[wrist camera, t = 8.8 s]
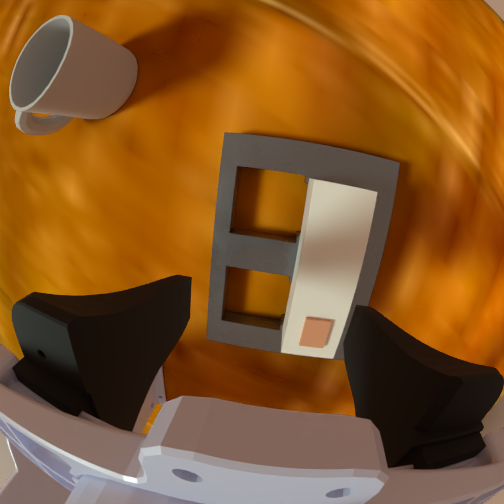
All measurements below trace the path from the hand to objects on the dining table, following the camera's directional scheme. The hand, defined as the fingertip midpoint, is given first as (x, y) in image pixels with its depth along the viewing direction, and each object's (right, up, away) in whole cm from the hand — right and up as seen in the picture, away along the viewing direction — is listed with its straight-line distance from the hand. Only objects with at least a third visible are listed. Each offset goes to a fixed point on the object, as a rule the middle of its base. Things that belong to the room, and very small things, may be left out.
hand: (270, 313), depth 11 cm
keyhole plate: (+2, +2, +9) cm, 10 cm away
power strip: (+4, +2, +9) cm, 10 cm away
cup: (-15, +17, +7) cm, 23 cm away
